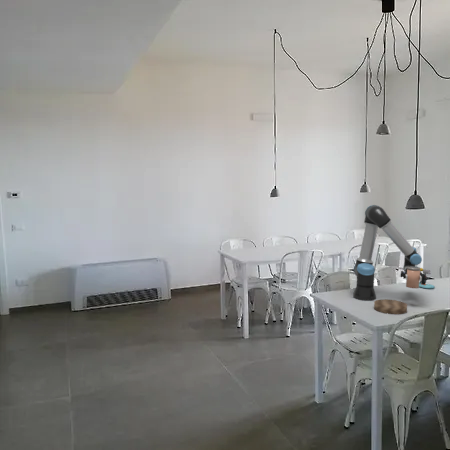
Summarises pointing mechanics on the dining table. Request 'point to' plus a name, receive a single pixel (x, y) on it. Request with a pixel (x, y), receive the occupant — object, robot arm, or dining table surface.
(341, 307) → the dining table surface
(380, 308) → the walnut pedestal
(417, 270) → the terracotta jar
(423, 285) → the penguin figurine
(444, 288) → the dining table surface
